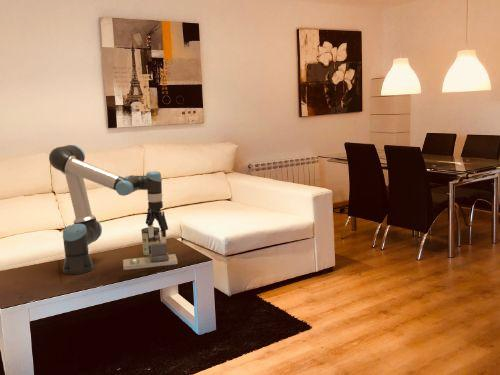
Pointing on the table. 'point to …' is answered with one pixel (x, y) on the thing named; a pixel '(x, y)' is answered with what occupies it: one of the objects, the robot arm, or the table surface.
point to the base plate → (147, 262)
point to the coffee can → (149, 239)
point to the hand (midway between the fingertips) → (157, 239)
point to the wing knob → (159, 252)
